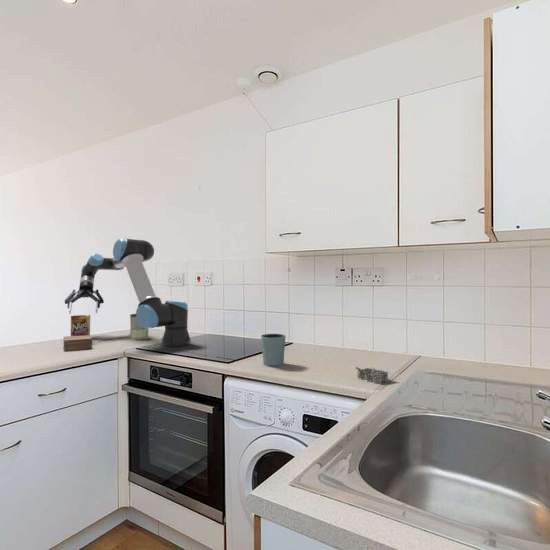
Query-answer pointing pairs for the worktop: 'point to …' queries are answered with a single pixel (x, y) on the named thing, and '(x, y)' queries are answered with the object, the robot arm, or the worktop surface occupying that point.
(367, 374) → the mottled grey-green oblong lump
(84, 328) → the candy box
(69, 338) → the walnut stand
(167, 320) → the robot arm
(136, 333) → the coffee can
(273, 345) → the teal cup
